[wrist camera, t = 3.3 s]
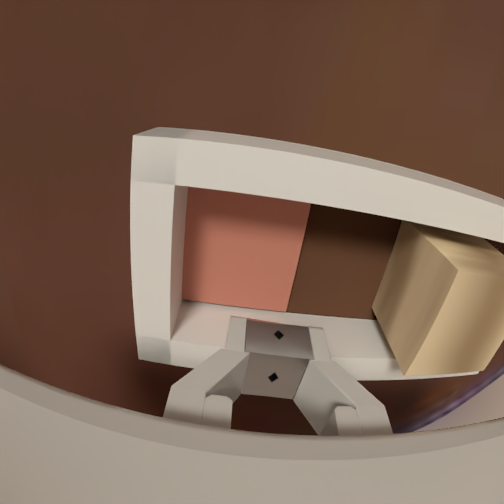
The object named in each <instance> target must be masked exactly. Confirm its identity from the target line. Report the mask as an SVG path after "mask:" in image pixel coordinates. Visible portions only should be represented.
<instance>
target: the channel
mask: <svg viewBox="0 0 504 504" xmlns="http://www.w3.org/2000/svg"><path fill="white" fill-rule="evenodd" d="M311 203H312V204H319V205H325V206H330V207H336V208H342V209H348V210H353V211H359V212H364V213H370V214H375V215H380V216H385V217H391V218H396V219H401V220H406V221H410V222H415V223H420V224H425V225H429V226H434V227H439V228H443V229H448V230H452V231H456V232H461V233H465V234H469V235H473V236H478V237H482V238H486V239H490V240H494V241H498V242H502V243H504V199H502V198H499V197H497V196H494V195H491V194H488V193H486V192H483V191H480V190H477V189H474V188H471V187H468V186H465V185H462V184H459V183H456V182H453V181H450V180H447V179H443V178H440V177H437V176H433V175H430V174H427V173H423V172H420V171H416V170H413V169H409V168H405V167H402V166H398V165H394V164H390V163H386V162H382V161H378V160H374V159H370V158H366V157H361V156H357V155H353V154H348V153H343V152H339V151H334V150H329V149H324V148H319V147H314V146H308V145H303V144H297V143H292V142H286V141H280V140H273V139H267V138H260V137H253V136H246V135H238V134H230V133H222V132H213V131H203V130H193V129H181V128H168V127H157V128H154V129H151V130H147V131H144V132H141V133H139V134H136V135H133V145H132V163H131V194H130V241H131V272H132V291H133V306H134V318H135V330H136V340H137V349H138V358H139V359H141V360H146V361H151V362H157V363H163V364H169V365H175V366H181V367H188V368H196V367H197V366H199V365H200V364H201V363H203V362H204V361H205V360H207V359H208V358H209V357H210V356H212V355H213V354H214V353H216V352H217V351H218V350H220V349H221V348H222V349H225V343H226V337H227V331H228V325H229V319H230V316H231V315H233V316H239V317H245V318H251V319H257V320H263V321H270V322H276V323H281V324H289V325H297V326H306V327H307V326H311V327H322V328H323V329H324V333H325V337H326V341H327V345H328V349H329V353H330V357H331V361H332V362H337V363H338V364H339V365H340V366H341V367H342V368H343V369H344V370H345V371H346V372H348V373H349V374H350V375H351V376H352V377H353V378H354V379H355V380H404V379H424V378H439V377H451V376H462V375H472V374H478V372H479V371H475V372H465V373H454V374H441V375H425V376H403V373H402V371H401V369H400V367H399V364H398V362H397V360H396V358H395V355H394V353H393V351H392V349H391V347H390V345H389V343H388V340H387V338H386V336H385V334H384V332H383V330H382V328H381V326H380V324H379V322H378V320H368V319H354V318H341V317H329V316H318V315H307V314H296V313H286V309H287V305H288V301H289V297H290V293H291V289H292V285H293V281H294V277H295V272H296V268H297V264H298V260H299V255H300V251H301V247H302V242H303V238H304V234H305V229H306V225H307V220H308V215H309V211H310V206H311ZM183 299H185V300H183ZM188 300H192V301H188ZM195 301H199V302H195ZM202 302H206V303H202ZM210 303H214V304H210ZM217 304H222V305H217ZM225 305H229V306H225ZM233 306H238V307H233ZM241 307H246V308H241ZM250 308H254V309H250ZM259 309H263V310H259ZM267 310H272V311H267ZM277 311H282V312H277Z"/></svg>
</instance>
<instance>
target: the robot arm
mask: <svg viewBox="0 0 504 504" xmlns="http://www.w3.org/2000/svg"><path fill="white" fill-rule="evenodd" d="M240 394H248V395H259V396H270V397H278V398H286V399H293V401H294V402H295V404H296V405H297V406H298V408H299V409H300V411H301V412H302V413H303V415H304V416H305V418H306V419H307V420H308V422H309V423H310V424H311V426H312V427H313V428H314V430H315V431H316V433H317V434H318V435H319V436H311V435H289V434H274V433H262V432H252V431H243V430H234V429H231V416H232V404H233V403H234V402H235V400H236V399H237V398H238V397H239V396H240ZM0 504H504V417H503V418H499V419H494V420H490V421H485V422H480V423H474V424H469V425H464V426H458V427H451V428H445V429H437V430H429V431H420V432H411V433H399V434H393V432H392V428H391V425H390V422H389V419H388V415H387V412H386V409H385V406H384V405H383V404H382V403H381V402H380V401H379V400H378V399H376V398H375V397H374V396H373V395H372V394H371V393H370V392H369V391H367V390H366V389H365V388H364V387H363V386H362V385H361V384H360V383H359V382H357V381H356V380H355V379H354V378H353V377H352V376H351V375H350V374H349V373H348V372H346V371H345V370H344V369H343V368H342V367H341V366H340V365H339V364H338V363H337V362H332V361H331V357H330V353H329V349H328V345H327V341H326V337H325V333H324V329H323V328H322V327H311V326H307V327H306V326H297V325H289V324H281V323H276V322H270V321H263V320H257V319H251V318H245V317H239V316H233V315H231V316H230V319H229V325H228V331H227V337H226V343H225V349H222V348H221V349H220V350H218V351H217V352H216V353H214V354H213V355H212V356H210V357H209V358H208V359H207V360H205V361H204V362H203V363H201V364H200V365H199V366H197V367H196V368H195V369H193V370H192V371H191V372H189V373H188V374H187V375H185V376H184V377H183V378H181V379H180V380H179V381H177V382H176V383H174V384H173V385H172V386H171V389H170V393H169V396H168V400H167V403H166V407H165V411H164V414H163V417H158V416H154V415H149V414H145V413H141V412H137V411H133V410H129V409H125V408H121V407H117V406H114V405H110V404H107V403H103V402H100V401H96V400H93V399H90V398H87V397H84V396H81V395H78V394H75V393H72V392H69V391H66V390H63V389H60V388H57V387H55V386H52V385H49V384H47V383H44V382H41V381H39V380H36V379H34V378H31V377H29V376H26V375H24V374H22V373H19V372H17V371H15V370H12V369H10V368H8V367H6V366H3V365H1V364H0Z"/></svg>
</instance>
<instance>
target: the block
mask: <svg viewBox="0 0 504 504" xmlns="http://www.w3.org/2000/svg"><path fill="white" fill-rule="evenodd" d="M372 309H373V311H374V313H375V315H376V317H377V320H378V322H379V324H380V326H381V328H382V330H383V332H384V334H385V336H386V338H387V340H388V343H389V345H390V347H391V349H392V351H393V353H394V355H395V358H396V360H397V362H398V364H399V367H400V369H401V371H402V373H403V376H425V375H441V374H454V373H465V372H475V371H484V369H485V368H486V366H487V365H488V363H489V362H490V360H491V359H492V357H493V356H494V354H495V352H496V351H497V349H498V348H499V346H500V344H501V343H502V341H503V340H504V255H503V254H502V253H501V252H499V251H498V250H497V249H496V248H495V247H493V246H492V245H491V244H490V243H488V242H487V241H486V240H485V239H483V238H482V237H478V236H473V235H469V234H465V233H461V232H456V231H452V230H448V229H443V228H439V227H434V226H429V225H425V224H420V223H415V222H410V221H406V220H402V222H401V226H400V229H399V232H398V235H397V238H396V241H395V244H394V247H393V250H392V253H391V256H390V259H389V262H388V265H387V267H386V270H385V273H384V276H383V279H382V281H381V284H380V287H379V289H378V292H377V294H376V297H375V300H374V302H373V305H372Z"/></svg>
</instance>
